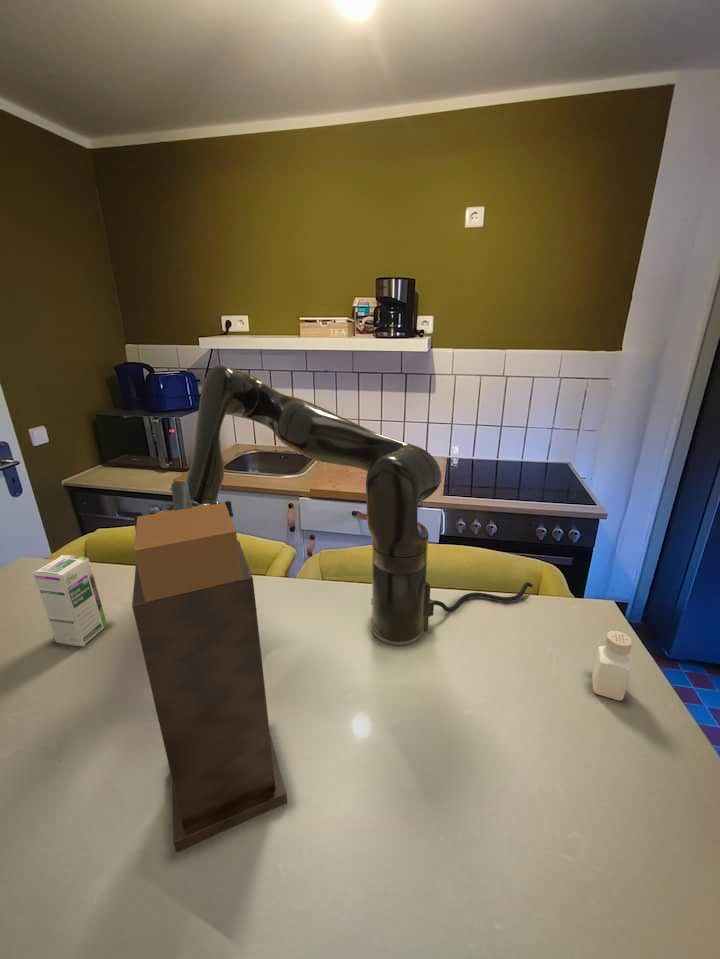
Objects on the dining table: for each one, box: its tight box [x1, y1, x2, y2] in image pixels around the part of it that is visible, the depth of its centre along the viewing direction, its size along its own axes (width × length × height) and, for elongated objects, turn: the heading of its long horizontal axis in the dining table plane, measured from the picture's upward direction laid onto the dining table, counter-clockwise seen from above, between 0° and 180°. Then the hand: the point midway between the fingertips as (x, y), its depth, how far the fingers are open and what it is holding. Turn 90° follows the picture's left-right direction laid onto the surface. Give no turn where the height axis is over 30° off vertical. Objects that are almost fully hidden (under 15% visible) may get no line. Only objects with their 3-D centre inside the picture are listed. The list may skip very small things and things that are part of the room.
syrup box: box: [32, 554, 108, 648], centre depth 74 cm, size 6×6×14 cm
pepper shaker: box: [591, 630, 633, 701], centre depth 63 cm, size 4×4×10 cm
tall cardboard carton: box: [133, 480, 242, 602], centre depth 47 cm, size 8×24×5 cm, turn 24°
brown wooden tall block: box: [131, 539, 288, 853], centre depth 46 cm, size 12×10×30 cm
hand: (184, 512), depth 62 cm, fingers open, 8 cm apart
